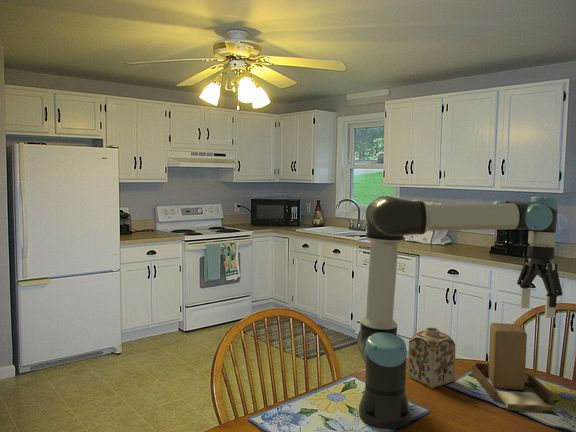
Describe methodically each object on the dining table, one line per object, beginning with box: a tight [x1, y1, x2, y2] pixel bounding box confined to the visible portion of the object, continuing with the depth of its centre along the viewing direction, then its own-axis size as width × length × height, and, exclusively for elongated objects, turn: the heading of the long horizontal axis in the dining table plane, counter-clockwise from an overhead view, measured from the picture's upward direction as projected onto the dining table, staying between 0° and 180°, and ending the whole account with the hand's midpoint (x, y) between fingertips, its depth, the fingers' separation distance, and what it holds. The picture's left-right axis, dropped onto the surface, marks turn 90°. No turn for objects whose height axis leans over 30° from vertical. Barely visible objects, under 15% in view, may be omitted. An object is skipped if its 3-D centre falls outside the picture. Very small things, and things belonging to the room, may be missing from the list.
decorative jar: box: [407, 326, 456, 389], centre depth 169 cm, size 12×12×18 cm
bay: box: [471, 362, 554, 413], centre depth 160 cm, size 18×28×4 cm, turn 176°
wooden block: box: [487, 322, 528, 391], centre depth 165 cm, size 10×10×20 cm
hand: (536, 312), depth 152 cm, fingers open, 13 cm apart
